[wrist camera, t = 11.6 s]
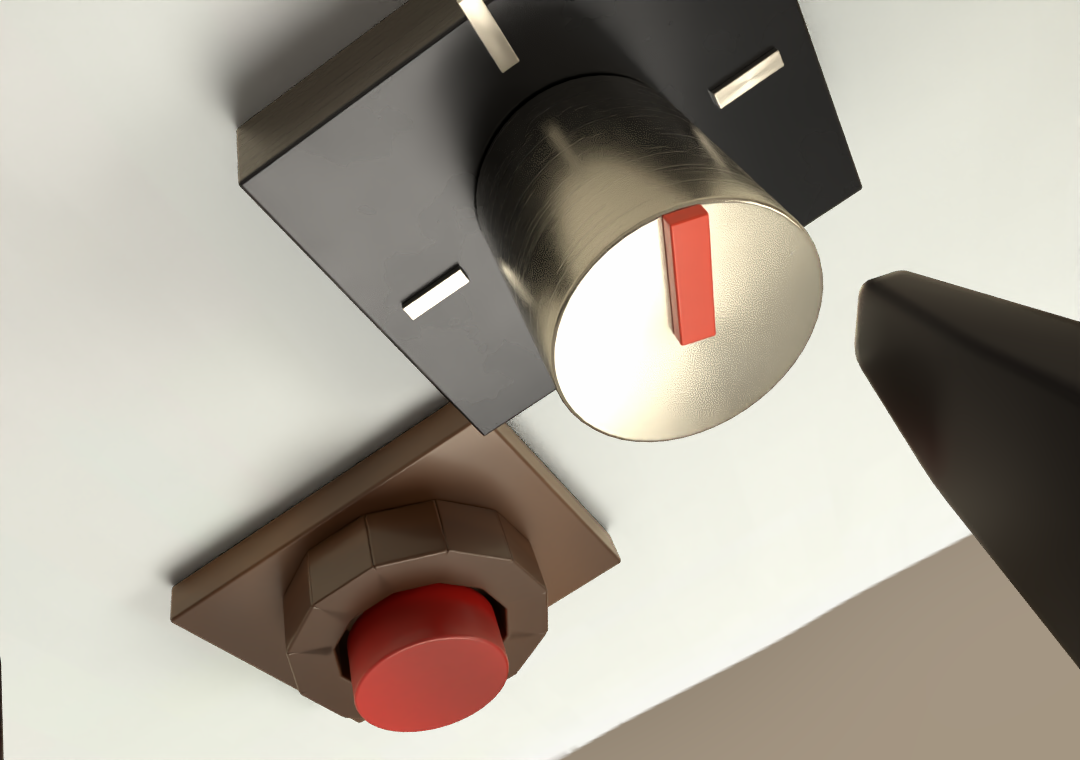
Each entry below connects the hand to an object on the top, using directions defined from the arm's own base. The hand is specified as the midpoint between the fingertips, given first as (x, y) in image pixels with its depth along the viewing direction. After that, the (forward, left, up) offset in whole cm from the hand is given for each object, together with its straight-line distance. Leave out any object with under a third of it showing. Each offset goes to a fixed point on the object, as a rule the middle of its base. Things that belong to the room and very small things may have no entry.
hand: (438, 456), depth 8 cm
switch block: (-7, -12, -11) cm, 18 cm away
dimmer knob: (+3, -4, -9) cm, 10 cm away
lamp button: (-7, -12, -9) cm, 17 cm away
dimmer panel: (+3, -4, -11) cm, 12 cm away
